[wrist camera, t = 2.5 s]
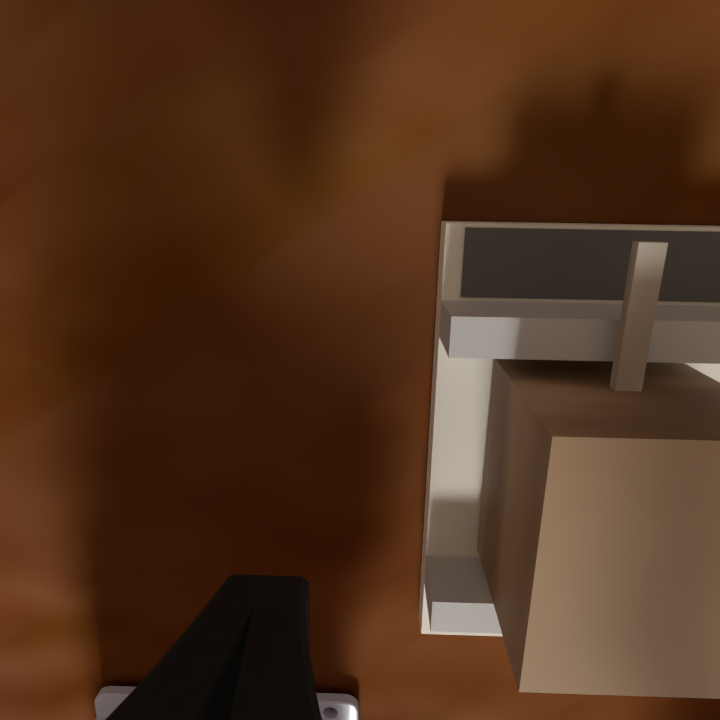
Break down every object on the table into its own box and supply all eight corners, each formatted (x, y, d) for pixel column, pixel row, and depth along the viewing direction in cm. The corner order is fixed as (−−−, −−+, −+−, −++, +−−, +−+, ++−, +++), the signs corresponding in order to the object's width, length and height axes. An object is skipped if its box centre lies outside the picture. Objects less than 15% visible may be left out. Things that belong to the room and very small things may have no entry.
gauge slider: (476, 547, 16) (519, 691, 12) (506, 232, 14) (575, 253, 9) (643, 551, 16) (755, 700, 12) (706, 235, 14) (885, 258, 9)
